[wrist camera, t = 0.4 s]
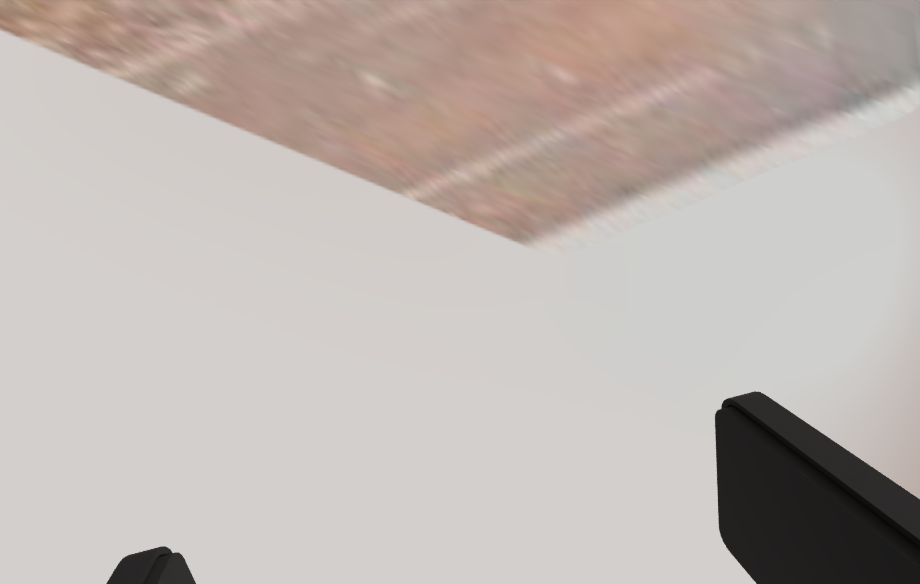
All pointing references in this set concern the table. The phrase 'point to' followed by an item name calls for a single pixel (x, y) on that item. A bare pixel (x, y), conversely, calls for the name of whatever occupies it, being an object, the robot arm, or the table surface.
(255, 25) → the table surface
